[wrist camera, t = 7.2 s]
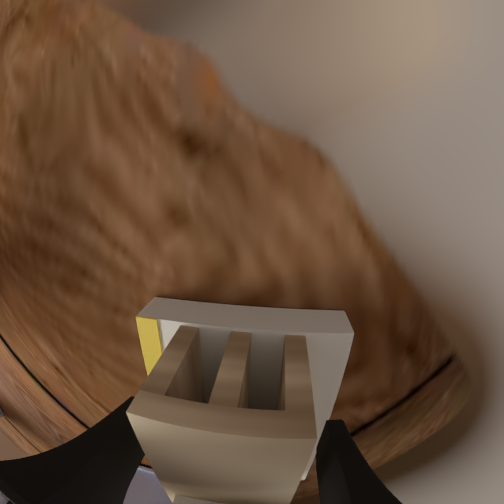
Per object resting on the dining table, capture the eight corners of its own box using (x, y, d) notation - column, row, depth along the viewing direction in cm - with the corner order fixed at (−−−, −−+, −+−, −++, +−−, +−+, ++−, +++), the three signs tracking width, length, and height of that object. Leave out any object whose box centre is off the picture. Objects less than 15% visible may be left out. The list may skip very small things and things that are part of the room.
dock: (304, 459, 15) (304, 480, 13) (183, 446, 16) (176, 467, 14) (344, 310, 12) (354, 334, 10) (155, 296, 13) (135, 316, 11)
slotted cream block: (277, 475, 13) (273, 535, 9) (203, 467, 14) (187, 524, 9) (305, 335, 10) (317, 438, 5) (180, 325, 11) (125, 412, 6)
